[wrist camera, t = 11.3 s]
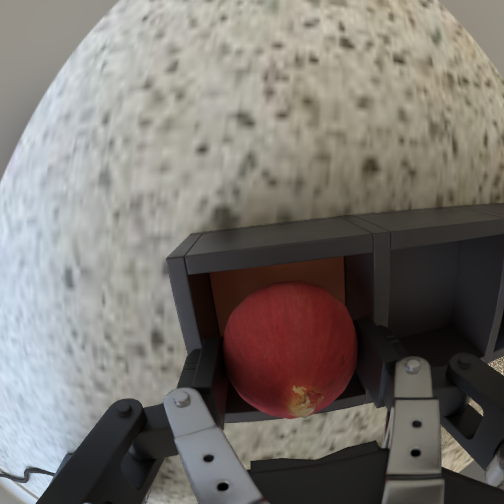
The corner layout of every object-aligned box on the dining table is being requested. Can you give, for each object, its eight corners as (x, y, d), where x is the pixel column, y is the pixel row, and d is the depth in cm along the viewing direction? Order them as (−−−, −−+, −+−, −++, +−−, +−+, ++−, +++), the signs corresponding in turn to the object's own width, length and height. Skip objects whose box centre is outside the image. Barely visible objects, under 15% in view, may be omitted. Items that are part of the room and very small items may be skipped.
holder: (216, 370, 19) (207, 424, 14) (190, 233, 17) (165, 258, 12) (516, 305, 18) (552, 329, 13) (528, 201, 16) (572, 211, 11)
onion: (332, 350, 17) (375, 452, 9) (234, 360, 17) (226, 471, 9) (334, 255, 15) (403, 328, 8) (222, 265, 15) (197, 351, 8)
